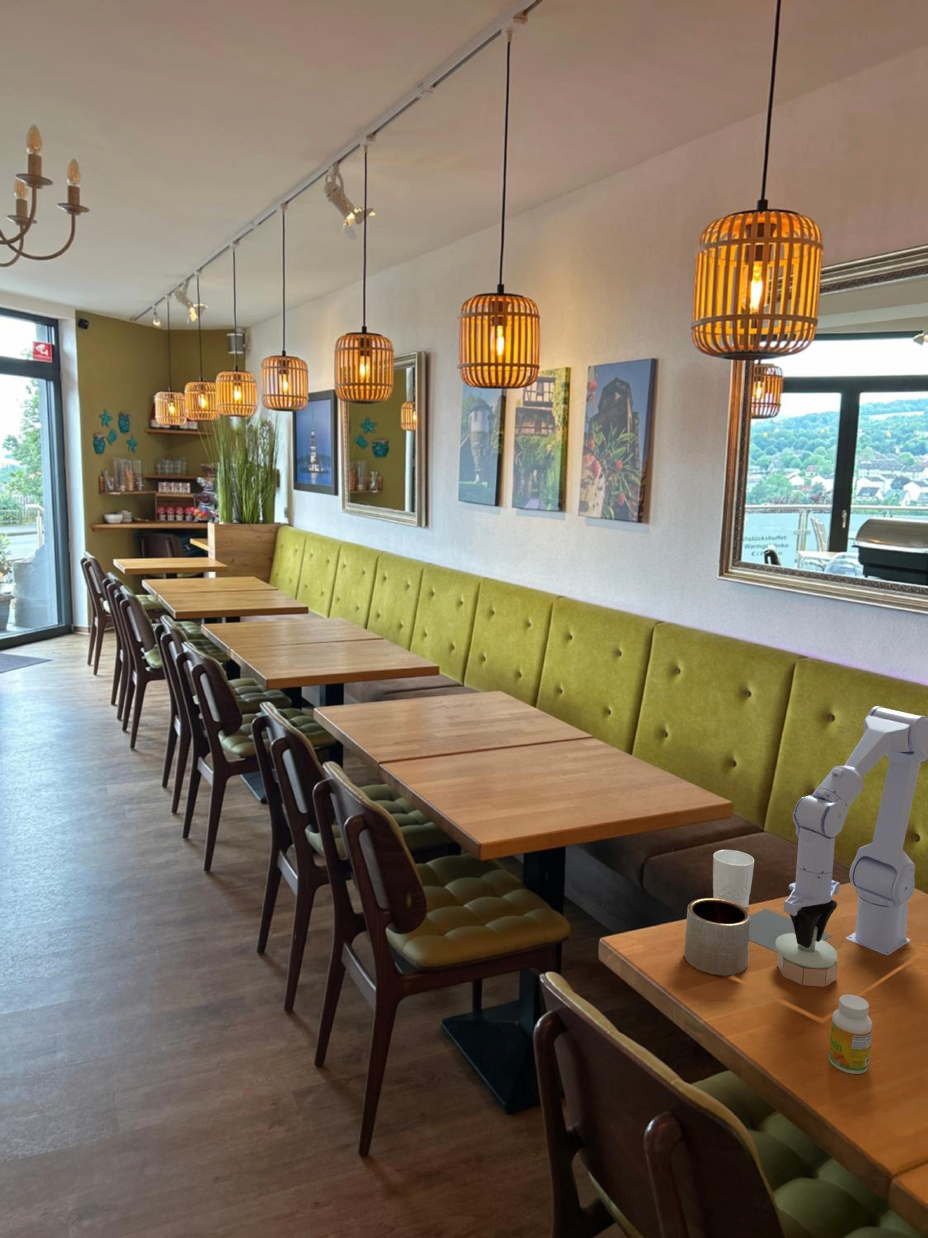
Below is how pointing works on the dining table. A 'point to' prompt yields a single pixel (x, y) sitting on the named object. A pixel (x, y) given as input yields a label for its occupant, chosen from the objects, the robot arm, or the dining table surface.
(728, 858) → the white cup
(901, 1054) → the dining table surface
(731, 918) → the planter
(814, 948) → the lid
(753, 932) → the mat
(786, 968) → the bowl
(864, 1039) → the supplement bottle
